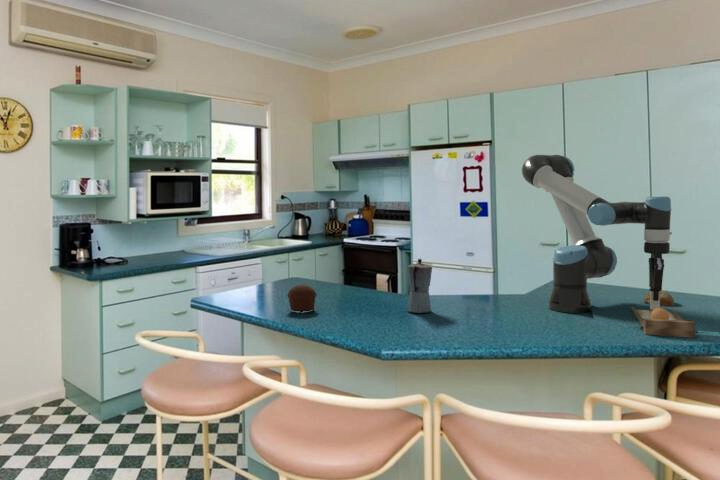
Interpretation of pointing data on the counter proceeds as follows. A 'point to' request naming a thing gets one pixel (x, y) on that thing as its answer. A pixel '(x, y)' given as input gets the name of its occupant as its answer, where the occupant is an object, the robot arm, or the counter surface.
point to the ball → (660, 314)
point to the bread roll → (662, 299)
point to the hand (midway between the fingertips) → (654, 309)
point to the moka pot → (419, 287)
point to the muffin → (302, 298)
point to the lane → (665, 324)
